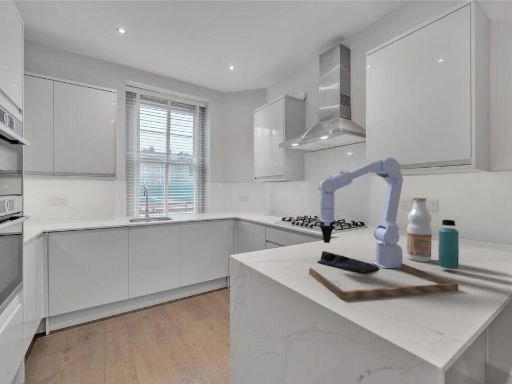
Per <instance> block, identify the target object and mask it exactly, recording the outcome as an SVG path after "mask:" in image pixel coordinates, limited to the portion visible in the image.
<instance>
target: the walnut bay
mask: <svg viewBox="0 0 512 384" xmlns="http://www.w3.org/2000/svg"><path fill="white" fill-rule="evenodd" d="M400 269H401V270H404V271H405V272H408V273H410V274H412V275H416V276H417V277H421V278H423V279H425V280H428V281H430V282H433V283H435V284H425V285H423V284H422V285H410V286H397V287H396V286H395V287H382V288H369V289H354V290H342V289H341V288H340V287H339V286H337V285H335V284H334V283H333V282H332V281H330V280H328V278H326V277H324V275H322V274H320V273H319V272H318V271H316V269H314V268H309V269H308V271H309V272H308V274H309V275H310V276H311V277H312V278H313V279H315V280H316V281H317V282H319V283H320V284H321V285H323V286H324V287H325V288H326V289H328V291H330V292H332V294H334V295H335V296H336V297H338V298H339V299H340V300H341V301H342V300H344V301H345V300H356V299H357V300H358V299H359V300H360V299H370V298H378V297H379V298H380V297H382V298H383V297H394V296H407V295H421V294H431V293H433V294H434V293H444V292H445V293H446V292H457V291H459V283H456V282H454V281H450V280H448V279H446V278H443V277H440V276H438V275H434V274H432V273H429V272H427V271H424V270H421V269H418V268H416V267H413V266H410V265H408V264H406V263H402V264H401V267H400Z"/></svg>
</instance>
